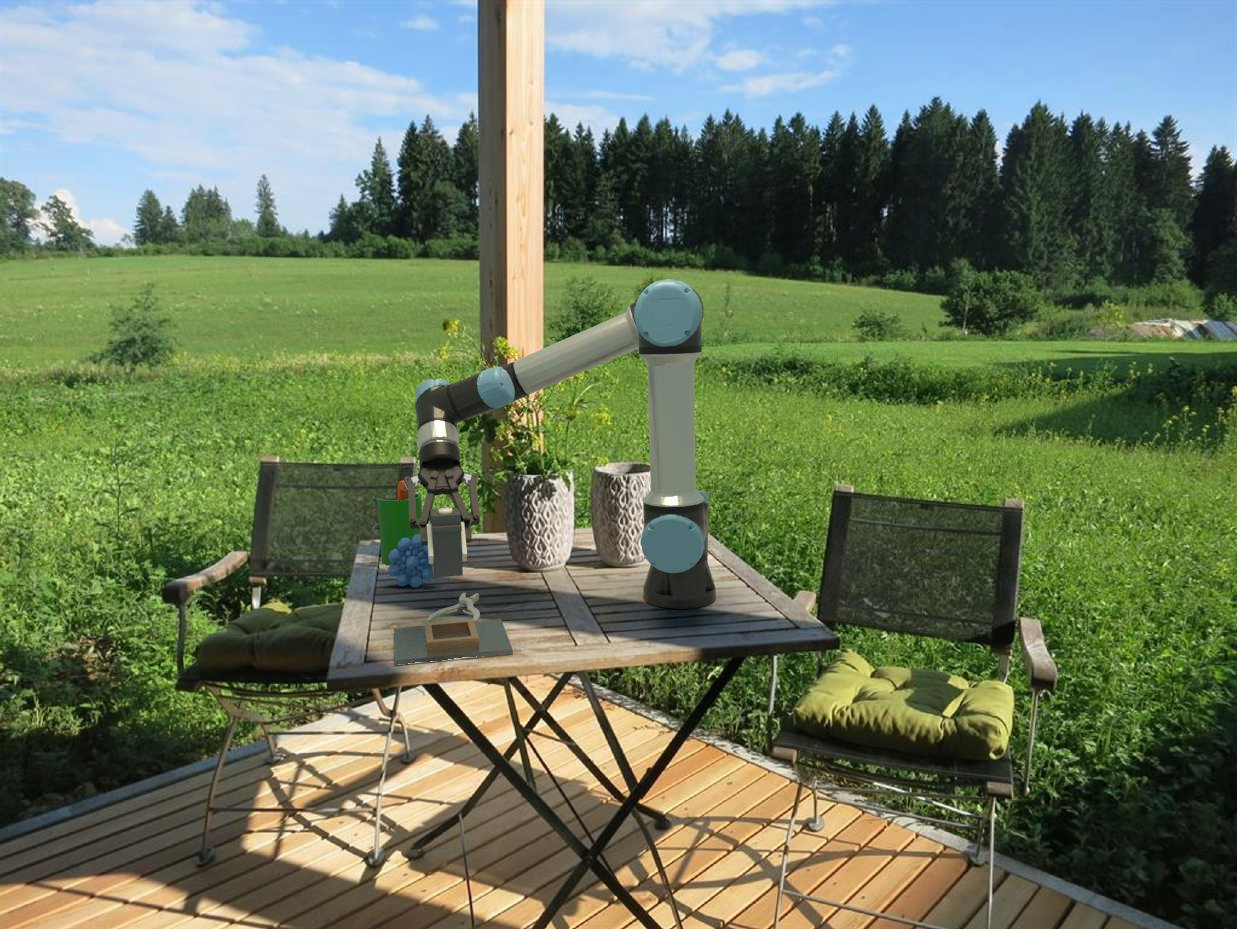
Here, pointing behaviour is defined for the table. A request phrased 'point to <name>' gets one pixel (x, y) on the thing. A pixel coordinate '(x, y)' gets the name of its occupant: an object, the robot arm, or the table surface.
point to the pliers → (463, 602)
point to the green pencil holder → (396, 521)
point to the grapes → (410, 562)
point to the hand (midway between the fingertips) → (447, 558)
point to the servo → (446, 542)
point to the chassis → (451, 641)
